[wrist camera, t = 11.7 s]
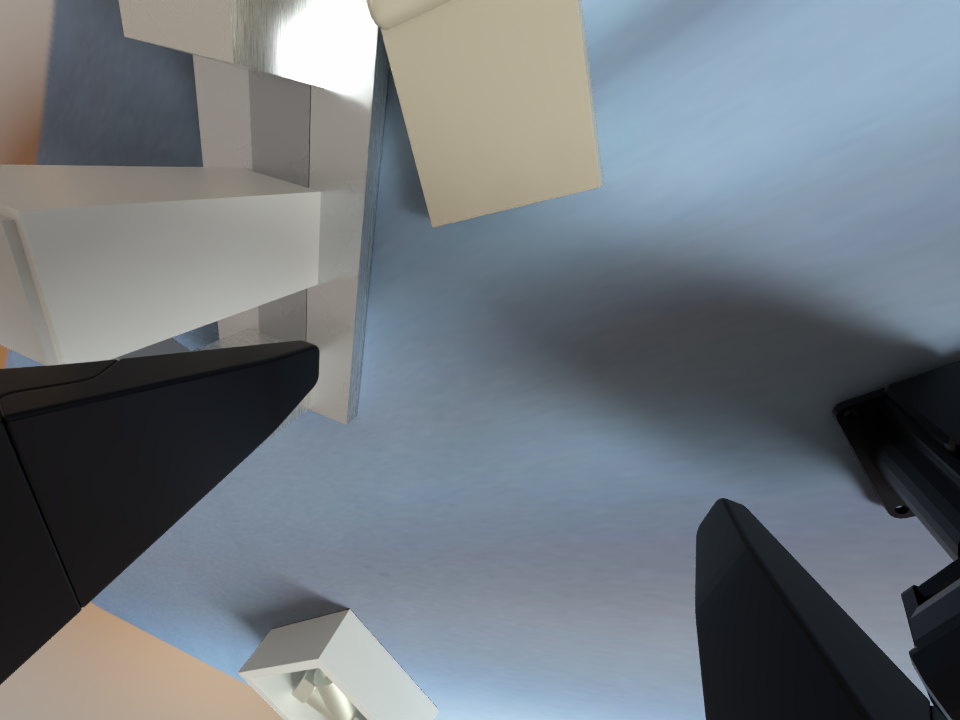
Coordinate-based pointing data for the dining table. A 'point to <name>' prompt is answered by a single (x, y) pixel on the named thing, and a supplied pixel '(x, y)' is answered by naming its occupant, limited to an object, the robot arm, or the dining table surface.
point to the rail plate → (293, 152)
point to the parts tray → (334, 670)
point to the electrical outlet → (493, 100)
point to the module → (143, 253)
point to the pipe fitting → (325, 697)
